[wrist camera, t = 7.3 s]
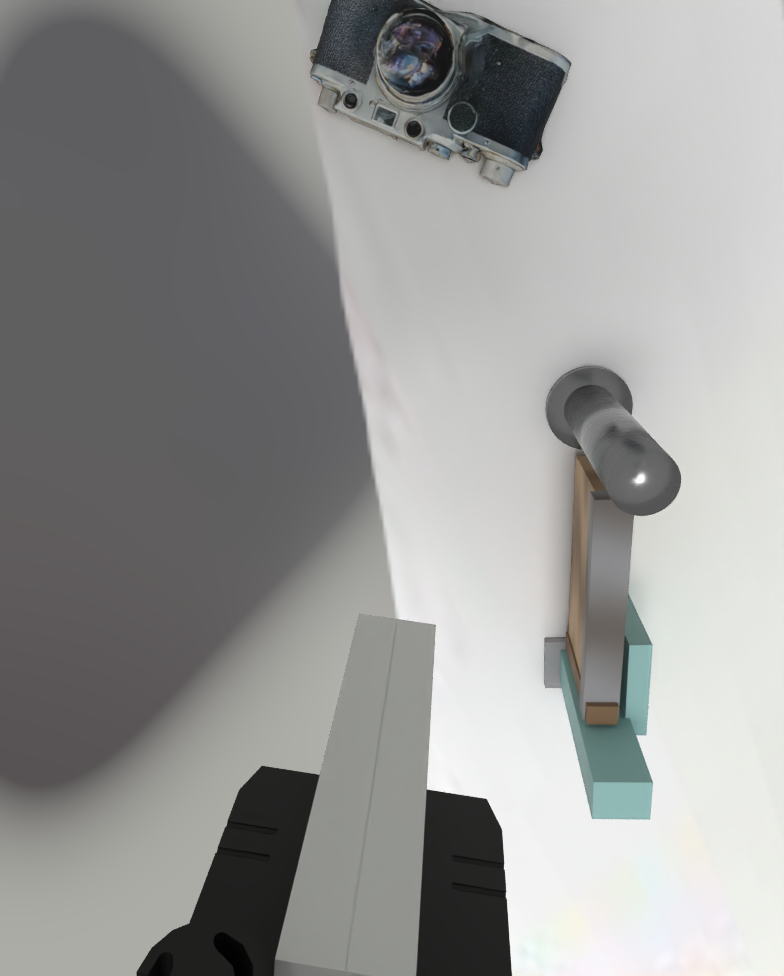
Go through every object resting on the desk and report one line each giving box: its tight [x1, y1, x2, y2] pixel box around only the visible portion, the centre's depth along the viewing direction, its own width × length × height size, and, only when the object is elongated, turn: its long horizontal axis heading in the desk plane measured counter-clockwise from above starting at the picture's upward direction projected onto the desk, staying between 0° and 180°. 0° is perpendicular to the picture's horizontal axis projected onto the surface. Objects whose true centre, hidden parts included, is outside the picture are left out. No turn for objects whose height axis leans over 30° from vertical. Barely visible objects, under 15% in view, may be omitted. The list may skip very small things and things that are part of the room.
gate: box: [566, 455, 634, 725], centre depth 32 cm, size 11×2×6 cm, turn 3°
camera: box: [310, 0, 571, 187], centre depth 27 cm, size 5×10×4 cm, turn 68°
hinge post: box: [546, 366, 681, 516], centre depth 28 cm, size 4×4×10 cm
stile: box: [544, 595, 653, 819], centre depth 33 cm, size 6×4×10 cm, turn 4°
